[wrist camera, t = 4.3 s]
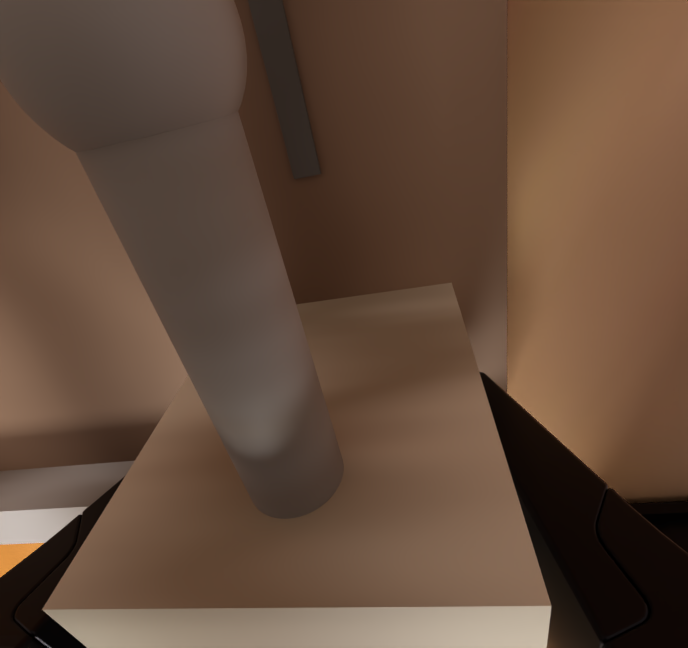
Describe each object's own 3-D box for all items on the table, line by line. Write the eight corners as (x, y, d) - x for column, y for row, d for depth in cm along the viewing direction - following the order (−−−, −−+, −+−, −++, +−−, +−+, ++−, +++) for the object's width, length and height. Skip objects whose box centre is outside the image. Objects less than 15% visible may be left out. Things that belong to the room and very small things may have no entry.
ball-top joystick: (426, -53, 6) (722, -853, 1) (462, 422, 11) (534, 752, 5) (112, 35, 7) (-740, -51, 2) (276, 437, 11) (190, 734, 6)
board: (476, -159, 7) (550, -340, 4) (490, 424, 13) (521, 527, 10) (-372, 113, 10) (-683, 135, 7) (-23, 466, 17) (-110, 552, 14)
